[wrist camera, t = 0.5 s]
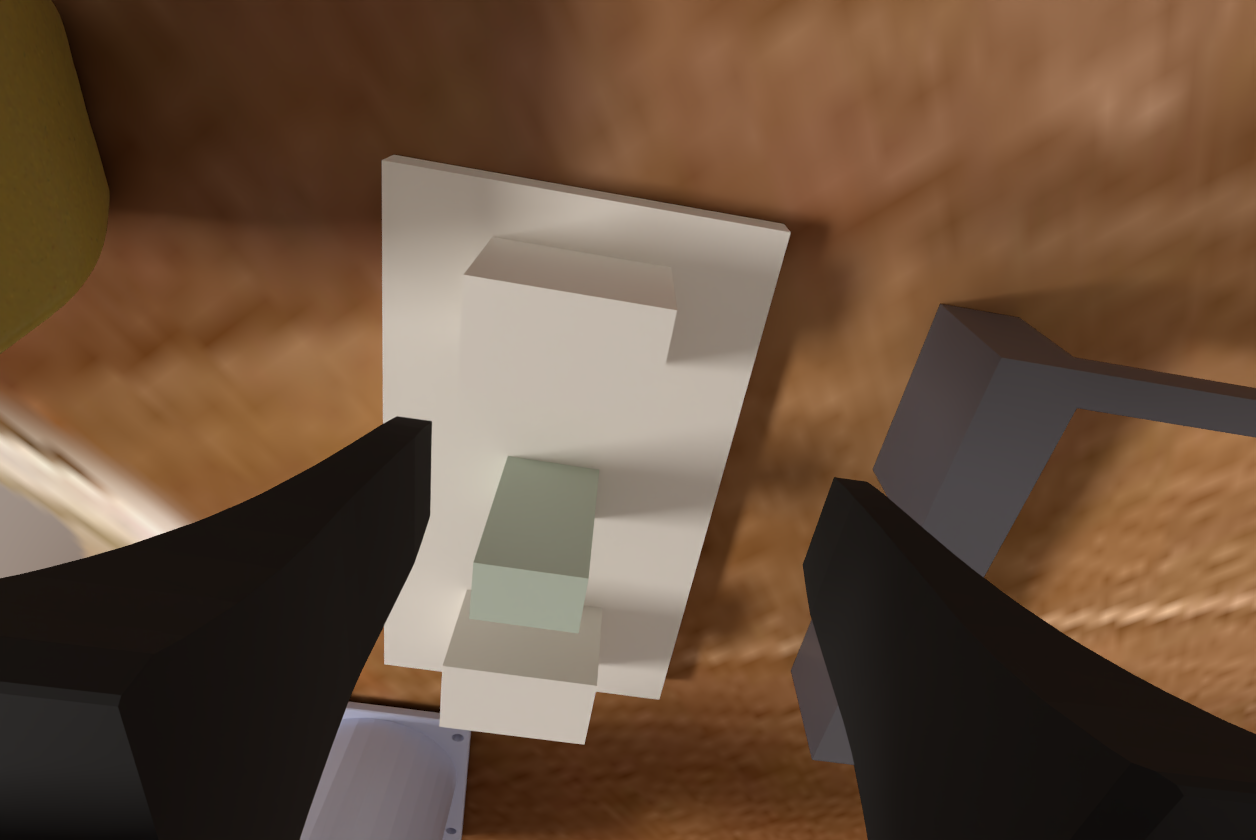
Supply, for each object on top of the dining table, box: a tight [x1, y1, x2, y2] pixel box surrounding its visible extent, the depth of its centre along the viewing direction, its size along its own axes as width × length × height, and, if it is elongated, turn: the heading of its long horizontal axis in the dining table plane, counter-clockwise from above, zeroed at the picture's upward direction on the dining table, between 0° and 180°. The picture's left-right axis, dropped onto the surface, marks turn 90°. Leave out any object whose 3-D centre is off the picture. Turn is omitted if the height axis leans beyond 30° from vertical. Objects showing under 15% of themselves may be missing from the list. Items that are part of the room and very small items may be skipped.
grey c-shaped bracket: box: [791, 304, 1256, 765], centre depth 23 cm, size 16×8×4 cm, turn 170°
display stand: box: [382, 155, 791, 745], centre depth 21 cm, size 19×11×6 cm, turn 170°
